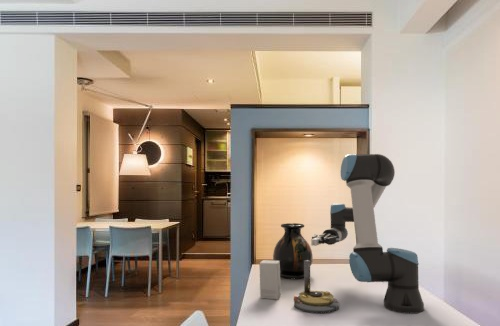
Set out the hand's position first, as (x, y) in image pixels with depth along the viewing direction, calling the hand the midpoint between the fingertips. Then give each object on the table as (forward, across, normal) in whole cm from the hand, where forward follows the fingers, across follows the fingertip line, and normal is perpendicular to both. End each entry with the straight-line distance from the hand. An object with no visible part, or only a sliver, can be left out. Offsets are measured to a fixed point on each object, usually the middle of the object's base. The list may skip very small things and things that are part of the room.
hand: (313, 242), depth 166 cm
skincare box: (+10, +17, -24) cm, 31 cm away
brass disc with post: (+10, -5, -22) cm, 25 cm away
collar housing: (+10, -5, -24) cm, 27 cm away
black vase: (-30, +24, -24) cm, 45 cm away
